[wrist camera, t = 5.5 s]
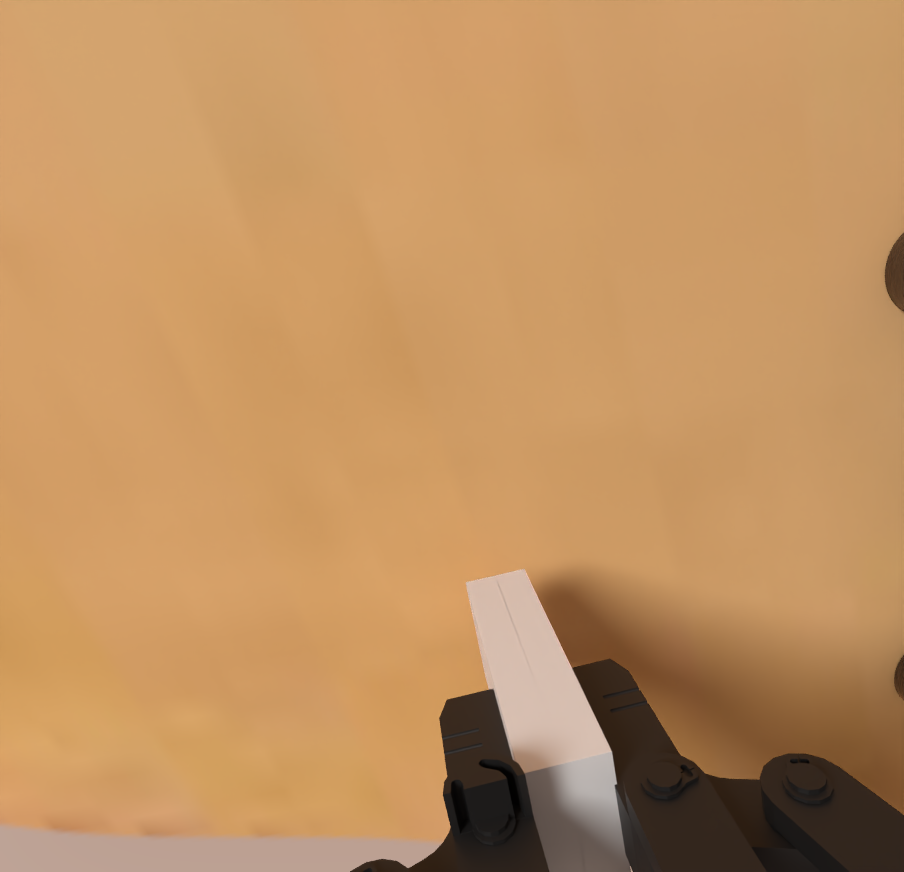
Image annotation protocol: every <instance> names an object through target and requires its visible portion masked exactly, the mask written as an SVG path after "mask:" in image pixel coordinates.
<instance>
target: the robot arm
mask: <svg viewBox="0 0 904 872" xmlns="http://www.w3.org/2000/svg"><path fill="white" fill-rule="evenodd" d="M466 586H467V591H468V596H469V600H470V605H471V610H472V615H473V619H474V624H475V629H476V634H477V638H478V643H479V648H480V653H481V657H482V662H483V667H484V672H485V676H486V680H487V684H488V688H489V690H486V691H481V692H477V693H473V694H469V695H465V696H461V697H456V698H452V699H448V700H447V701H446V703H445V706H444V708H443V711H442V713H441V716H440V718H439V719H440V726H441V733H442V739H443V748H444V754H445V762H446V769H447V776H448V777H447V779H446V780H445V782H444V790H443V797H444V801H445V805H446V809H447V813H448V818H449V822H450V826H451V828H450V831H449V833H448V835H447V837H446V839H445V840H444V842H443V843H442V844H441V845H440V846H439V848H438V849H437V850H436V851H435V852H434V853H432V854H431V855H429V856H428V857H427V858H425V859H424V860H422V861H420V862H419V863H417V864H415V865H414V866H412V867H410V868H406V867H405V866H403V865H402V864H400V863H399V862H397V861H393V860H386V859H380V860H375V861H370V862H366V863H364V864H362V865H361V866H359V867H357V868H355V869H354V870H352V871H350V872H631V869H630V866H631V868H632V871H633V872H904V815H903V814H901V813H900V812H899V811H897V810H896V809H895V808H893V807H892V806H891V805H889V804H888V803H887V802H885V801H884V800H883V799H881V798H880V797H879V796H877V795H876V794H875V793H873V792H872V791H871V790H869V789H868V788H867V787H865V786H864V785H863V784H861V783H860V782H859V781H857V780H856V779H855V778H853V777H852V776H850V775H849V774H848V773H846V772H845V771H844V770H842V769H841V768H840V767H838V766H836V765H834V764H833V763H831V762H829V761H827V760H825V759H823V758H819V757H816V756H812V755H808V754H786V755H782V756H779V757H775V758H773V759H772V760H771V761H769V762H768V763H767V764H766V765H765V766H764V767H763V770H762V773H761V775H760V780H748V779H727V778H718V777H715V776H712V775H708V774H705V773H704V772H703V771H702V770H701V769H700V768H699V767H698V766H697V765H696V764H695V763H694V762H692V761H690V760H689V759H687V758H685V757H683V756H681V755H680V754H679V753H678V751H677V749H676V748H675V746H674V744H673V743H672V741H671V740H670V738H669V736H668V735H667V733H666V731H665V730H664V728H663V727H662V725H661V723H660V722H659V720H658V718H657V717H656V715H655V713H654V712H653V710H652V709H651V707H650V705H649V704H647V700H646V699H645V697H644V696H643V694H642V692H641V691H639V688H638V686H637V684H636V682H635V681H634V679H633V678H632V676H631V674H630V673H629V671H628V670H626V669H625V668H623V667H622V666H620V665H619V664H617V663H616V662H614V661H613V660H611V659H607V660H603V661H599V662H595V663H590V664H586V665H582V666H578V667H574V668H572V667H571V665H570V663H569V661H568V659H567V657H566V655H565V653H564V651H563V649H562V646H561V644H560V642H559V640H558V638H557V636H556V634H555V632H554V630H553V628H552V626H551V624H550V621H549V619H548V617H547V615H546V613H545V611H544V609H543V607H542V605H541V603H540V601H539V599H538V596H537V594H536V592H535V590H534V588H533V586H532V584H531V582H530V580H529V578H528V576H527V574H526V571H525V569H521V570H517V571H513V572H508V573H504V574H500V575H495V576H491V577H487V578H483V579H478V580H474V581H470V582H466Z"/></svg>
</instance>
